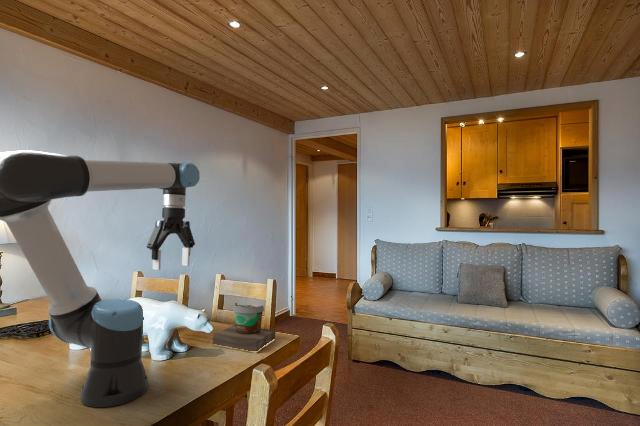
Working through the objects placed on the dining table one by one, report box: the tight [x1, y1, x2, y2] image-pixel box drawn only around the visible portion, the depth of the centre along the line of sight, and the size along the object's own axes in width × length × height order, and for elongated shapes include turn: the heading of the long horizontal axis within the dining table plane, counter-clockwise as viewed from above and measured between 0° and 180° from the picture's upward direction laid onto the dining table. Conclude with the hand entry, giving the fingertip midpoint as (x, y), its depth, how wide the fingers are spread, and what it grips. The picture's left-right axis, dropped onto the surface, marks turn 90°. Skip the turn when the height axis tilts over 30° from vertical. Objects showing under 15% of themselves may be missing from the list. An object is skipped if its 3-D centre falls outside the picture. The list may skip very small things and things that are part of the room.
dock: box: [212, 324, 277, 351], centre depth 133 cm, size 14×18×4 cm
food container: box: [232, 302, 265, 335], centre depth 133 cm, size 12×6×10 cm, turn 73°
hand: (171, 267), depth 126 cm, fingers open, 13 cm apart
